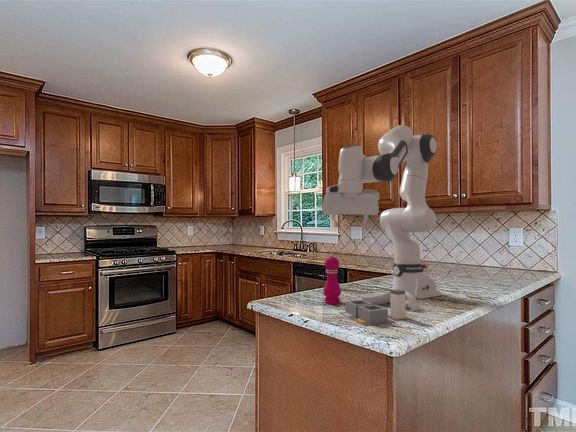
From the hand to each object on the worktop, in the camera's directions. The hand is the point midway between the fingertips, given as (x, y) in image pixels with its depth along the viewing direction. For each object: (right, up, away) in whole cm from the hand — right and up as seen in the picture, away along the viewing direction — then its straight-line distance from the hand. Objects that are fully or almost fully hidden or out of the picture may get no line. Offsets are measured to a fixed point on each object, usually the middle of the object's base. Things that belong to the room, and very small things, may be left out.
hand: (349, 227), depth 128 cm
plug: (+14, -30, -10) cm, 35 cm away
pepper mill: (-4, -31, +16) cm, 35 cm away
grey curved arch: (+17, -32, +9) cm, 37 cm away
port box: (+4, -31, -10) cm, 32 cm away
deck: (+14, -31, -10) cm, 35 cm away
